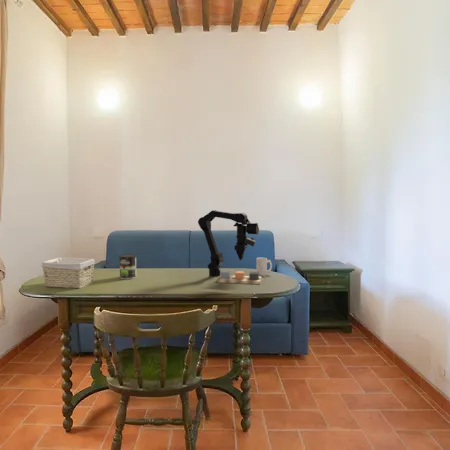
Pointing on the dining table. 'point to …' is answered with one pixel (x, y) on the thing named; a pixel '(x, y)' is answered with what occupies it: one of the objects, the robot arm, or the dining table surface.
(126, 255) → the coffee can
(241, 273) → the orange cube
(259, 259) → the mug
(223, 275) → the blue-grey cube
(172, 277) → the dining table surface
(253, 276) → the dark grey cube
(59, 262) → the storage basket
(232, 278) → the birch panel
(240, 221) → the robot arm
